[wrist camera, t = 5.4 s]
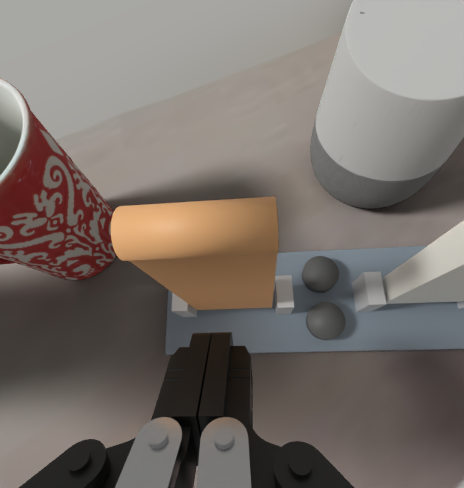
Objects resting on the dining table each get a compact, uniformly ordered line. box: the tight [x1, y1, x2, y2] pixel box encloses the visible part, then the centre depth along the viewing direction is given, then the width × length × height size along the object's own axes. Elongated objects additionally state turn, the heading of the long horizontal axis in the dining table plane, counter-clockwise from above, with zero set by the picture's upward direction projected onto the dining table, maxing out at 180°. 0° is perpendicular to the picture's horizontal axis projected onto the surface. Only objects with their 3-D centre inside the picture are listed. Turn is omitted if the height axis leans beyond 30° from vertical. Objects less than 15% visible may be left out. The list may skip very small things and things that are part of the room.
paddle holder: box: [165, 246, 464, 355], centre depth 22 cm, size 21×7×5 cm, turn 91°
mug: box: [0, 78, 116, 280], centre depth 22 cm, size 13×9×14 cm
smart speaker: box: [310, 0, 464, 208], centre depth 21 cm, size 10×9×14 cm
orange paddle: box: [111, 196, 279, 310], centre depth 16 cm, size 5×2×13 cm, turn 91°
